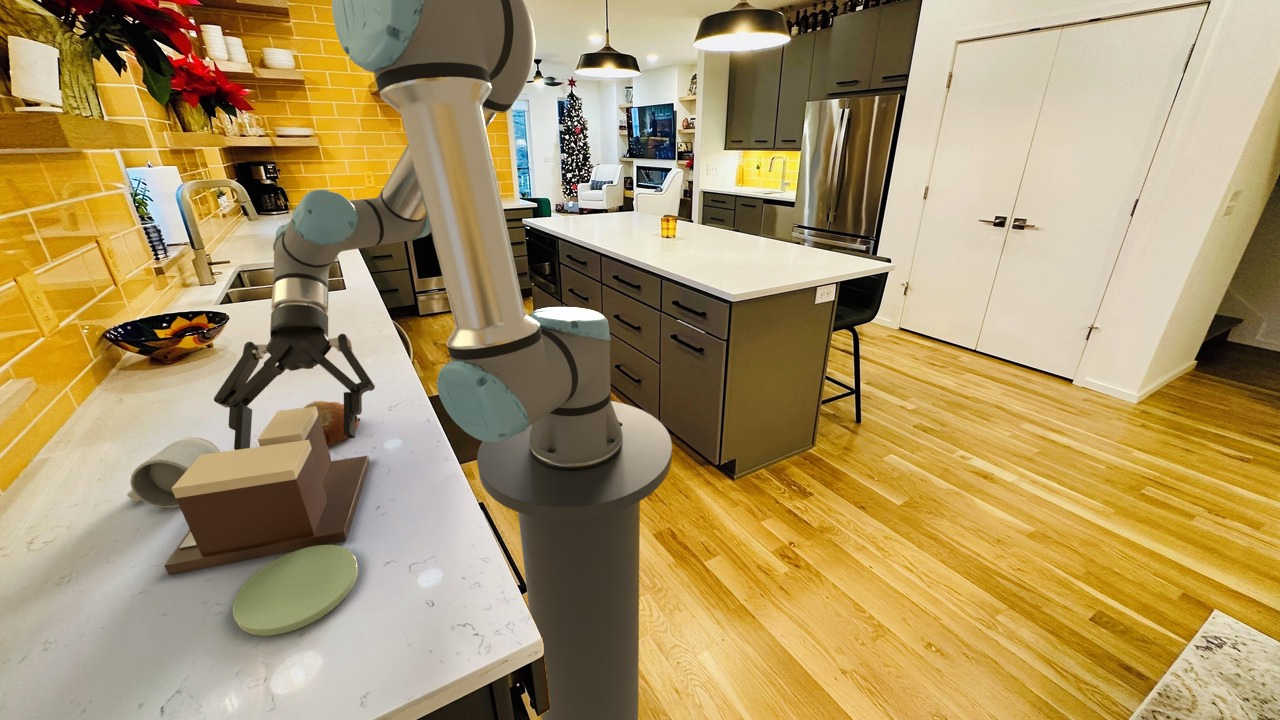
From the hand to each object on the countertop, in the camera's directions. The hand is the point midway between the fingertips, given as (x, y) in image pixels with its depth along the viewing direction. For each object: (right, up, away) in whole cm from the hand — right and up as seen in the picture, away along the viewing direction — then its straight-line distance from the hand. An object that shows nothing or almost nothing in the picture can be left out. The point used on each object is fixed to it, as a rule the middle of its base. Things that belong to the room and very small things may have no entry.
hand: (297, 443), depth 72 cm
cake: (+1, -10, -7) cm, 12 cm away
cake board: (0, -9, -2) cm, 9 cm away
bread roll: (-6, -1, +17) cm, 17 cm away
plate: (+10, -14, -14) cm, 23 cm away
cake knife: (-8, -9, -5) cm, 13 cm away
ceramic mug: (-18, -8, +1) cm, 20 cm away
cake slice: (0, -6, +2) cm, 6 cm away
